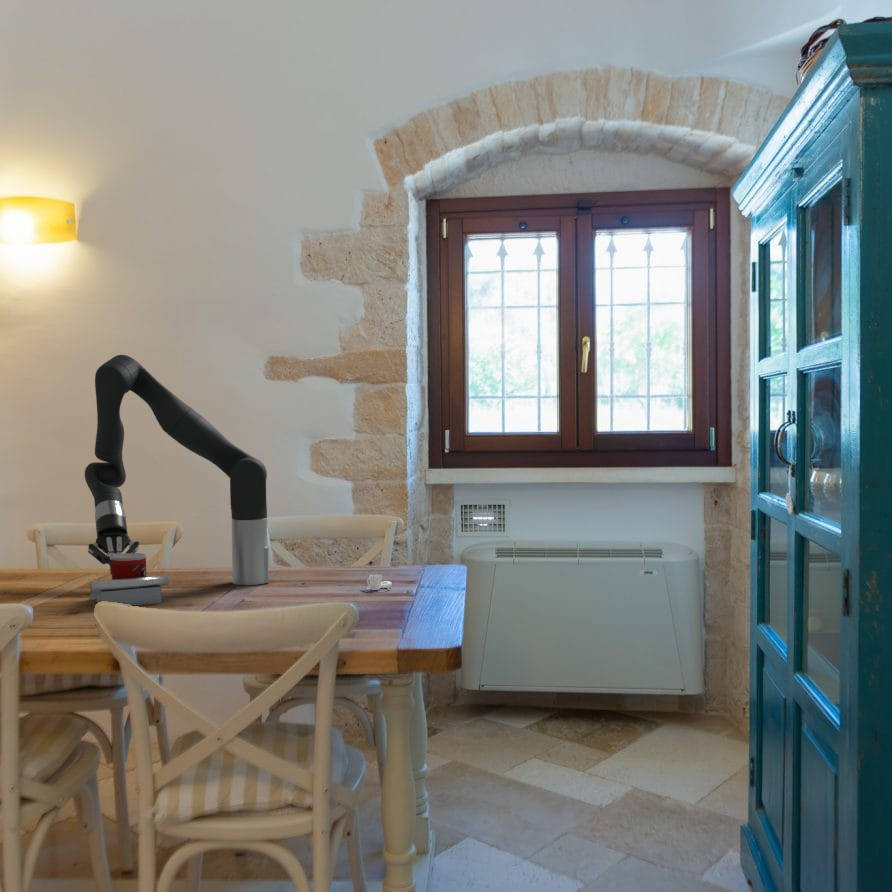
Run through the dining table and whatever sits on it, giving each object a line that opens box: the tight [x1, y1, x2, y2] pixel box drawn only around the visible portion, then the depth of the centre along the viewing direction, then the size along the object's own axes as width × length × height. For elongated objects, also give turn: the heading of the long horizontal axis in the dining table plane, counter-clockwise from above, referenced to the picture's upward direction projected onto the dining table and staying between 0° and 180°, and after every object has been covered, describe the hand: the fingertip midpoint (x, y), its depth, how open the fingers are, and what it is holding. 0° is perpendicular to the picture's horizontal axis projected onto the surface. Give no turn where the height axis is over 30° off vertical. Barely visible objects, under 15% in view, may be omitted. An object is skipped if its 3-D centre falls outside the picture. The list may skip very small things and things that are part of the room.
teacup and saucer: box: [366, 574, 393, 590], centre depth 227 cm, size 9×8×4 cm
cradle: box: [89, 574, 170, 606], centre depth 214 cm, size 17×14×6 cm
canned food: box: [111, 552, 147, 580], centre depth 214 cm, size 8×8×11 cm
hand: (116, 574), depth 225 cm, fingers closed
